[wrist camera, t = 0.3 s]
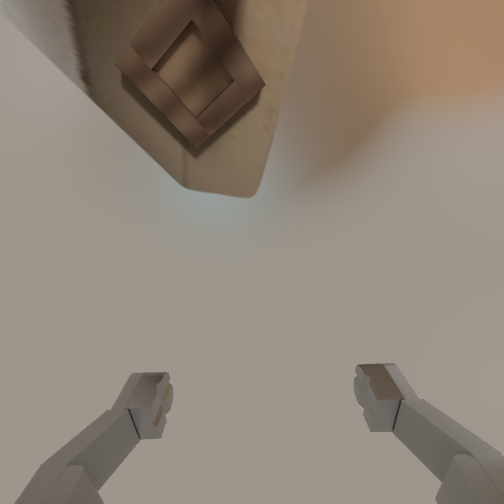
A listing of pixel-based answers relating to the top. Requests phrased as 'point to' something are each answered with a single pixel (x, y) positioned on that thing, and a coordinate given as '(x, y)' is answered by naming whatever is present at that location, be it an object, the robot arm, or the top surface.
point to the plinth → (191, 67)
